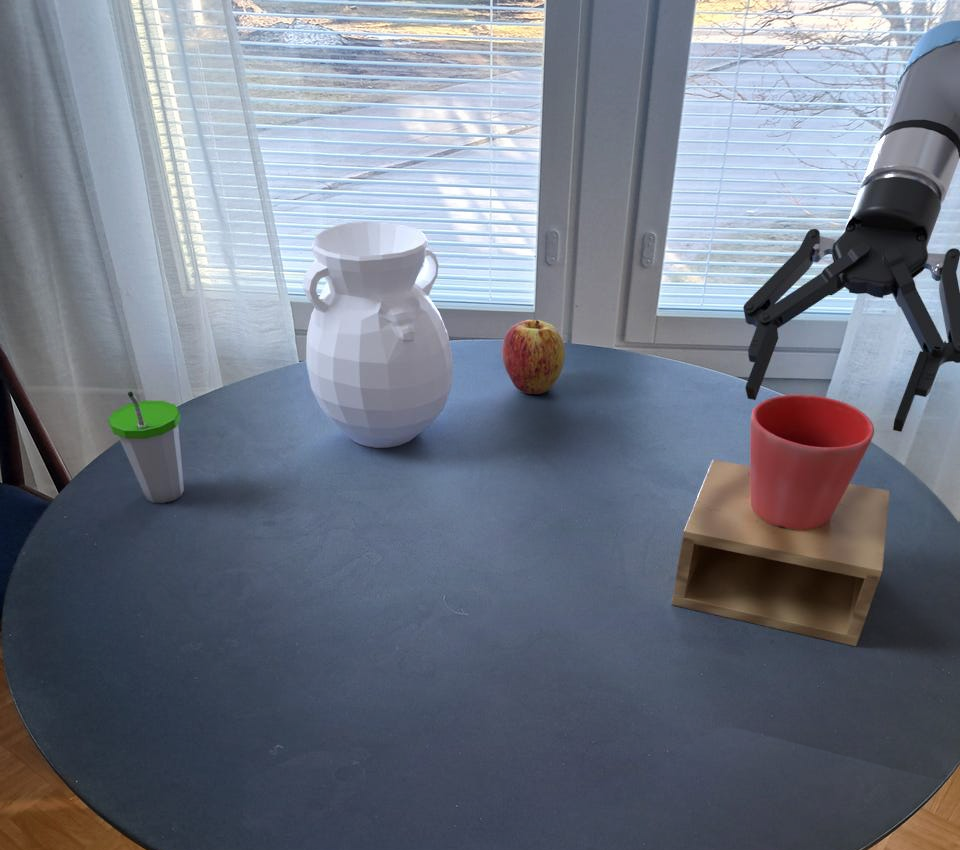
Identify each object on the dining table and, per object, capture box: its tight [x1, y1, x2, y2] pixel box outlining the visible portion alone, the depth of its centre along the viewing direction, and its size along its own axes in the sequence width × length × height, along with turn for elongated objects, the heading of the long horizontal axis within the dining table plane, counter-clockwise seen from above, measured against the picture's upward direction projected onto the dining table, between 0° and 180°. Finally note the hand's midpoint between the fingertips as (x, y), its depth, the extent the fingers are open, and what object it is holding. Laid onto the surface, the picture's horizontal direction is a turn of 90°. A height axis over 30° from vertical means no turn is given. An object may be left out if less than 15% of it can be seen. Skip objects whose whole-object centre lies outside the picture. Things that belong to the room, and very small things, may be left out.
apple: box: [501, 319, 566, 395], centre depth 128 cm, size 9×9×10 cm
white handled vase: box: [302, 221, 454, 449], centre depth 113 cm, size 19×18×25 cm
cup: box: [107, 391, 185, 504], centre depth 104 cm, size 8×8×15 cm
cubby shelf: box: [671, 459, 891, 647], centre depth 92 cm, size 18×15×9 cm
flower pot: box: [749, 394, 875, 530], centre depth 86 cm, size 11×11×10 cm
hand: (821, 409), depth 84 cm, fingers open, 13 cm apart
